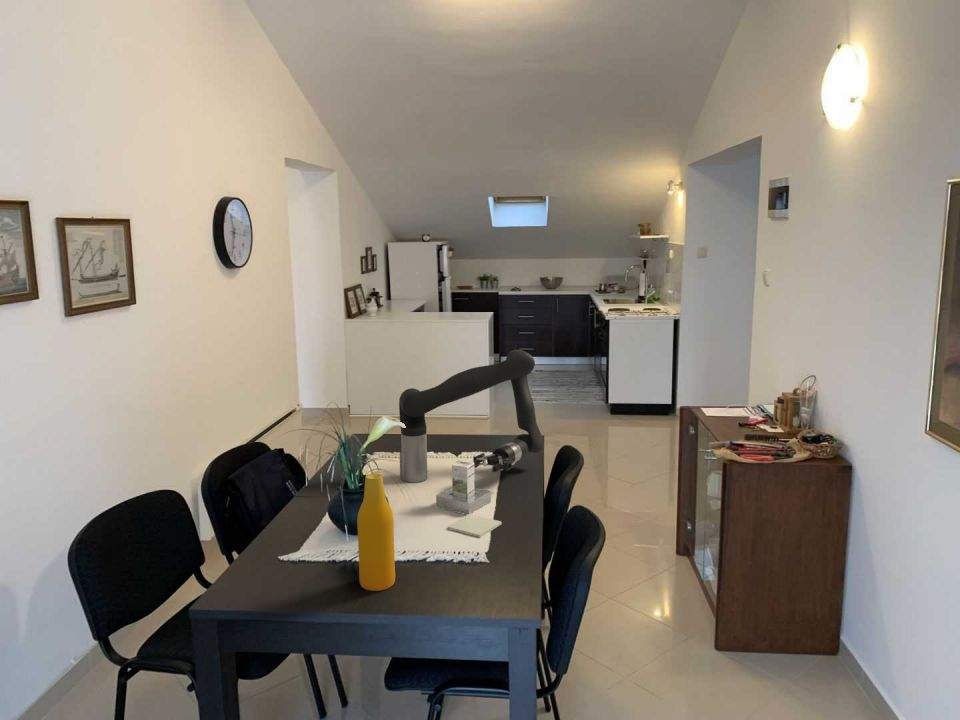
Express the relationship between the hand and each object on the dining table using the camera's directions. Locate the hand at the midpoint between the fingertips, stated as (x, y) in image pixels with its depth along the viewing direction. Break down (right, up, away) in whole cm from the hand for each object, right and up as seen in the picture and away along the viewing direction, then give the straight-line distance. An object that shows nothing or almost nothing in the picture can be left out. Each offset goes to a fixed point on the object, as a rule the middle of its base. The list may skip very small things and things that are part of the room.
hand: (482, 467), depth 251 cm
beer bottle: (-27, -21, -61) cm, 70 cm away
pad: (-3, -14, -25) cm, 29 cm away
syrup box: (-6, -11, -8) cm, 15 cm away
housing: (-6, -11, -8) cm, 15 cm away
